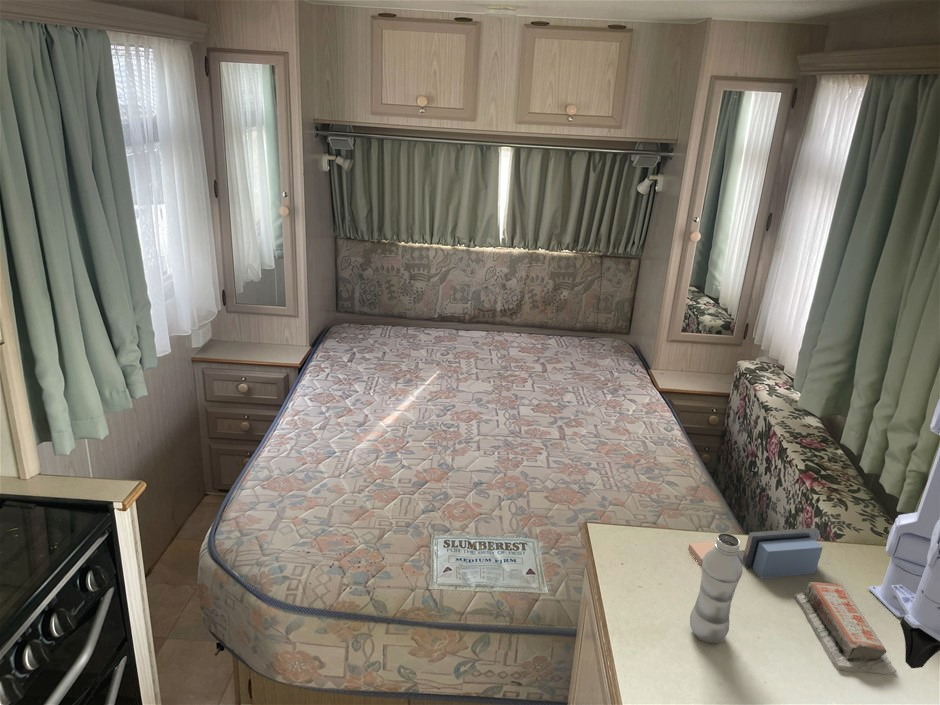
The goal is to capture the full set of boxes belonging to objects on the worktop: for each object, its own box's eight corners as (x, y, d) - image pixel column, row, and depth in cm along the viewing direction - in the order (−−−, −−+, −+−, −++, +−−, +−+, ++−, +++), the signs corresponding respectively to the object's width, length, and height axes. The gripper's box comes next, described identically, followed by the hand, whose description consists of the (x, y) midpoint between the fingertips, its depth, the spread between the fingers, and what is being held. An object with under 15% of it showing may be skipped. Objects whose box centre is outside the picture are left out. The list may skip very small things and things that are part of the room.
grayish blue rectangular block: (805, 564, 141) (813, 537, 138) (814, 573, 138) (822, 547, 135) (752, 568, 138) (759, 541, 136) (760, 578, 136) (768, 551, 133)
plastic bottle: (701, 651, 117) (724, 555, 109) (679, 622, 123) (700, 529, 115) (734, 645, 118) (758, 550, 111) (711, 617, 124) (733, 525, 117)
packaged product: (798, 577, 130) (850, 581, 130) (792, 597, 131) (844, 601, 131) (843, 650, 113) (904, 655, 113) (835, 673, 115) (895, 677, 115)
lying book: (722, 548, 144) (724, 540, 144) (735, 563, 140) (737, 555, 139) (687, 551, 143) (689, 543, 142) (699, 567, 138) (701, 559, 137)
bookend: (798, 548, 145) (806, 518, 142) (810, 561, 141) (819, 531, 138) (733, 553, 142) (741, 523, 139) (744, 567, 138) (752, 536, 136)
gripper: (881, 564, 107) (858, 631, 112) (958, 633, 94) (928, 706, 99) (920, 560, 108) (895, 628, 113) (1001, 628, 95) (970, 701, 100)
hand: (913, 664), depth 106 cm, fingers closed
